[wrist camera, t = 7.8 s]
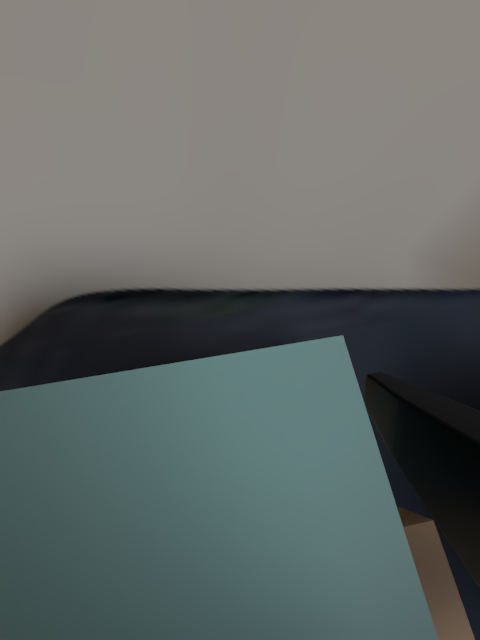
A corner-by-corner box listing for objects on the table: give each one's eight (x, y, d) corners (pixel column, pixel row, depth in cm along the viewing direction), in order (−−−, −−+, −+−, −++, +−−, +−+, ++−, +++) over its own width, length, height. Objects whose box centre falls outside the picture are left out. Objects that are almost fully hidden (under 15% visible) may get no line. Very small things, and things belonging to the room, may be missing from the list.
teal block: (296, 534, 11) (499, 833, 3) (169, 562, 11) (-70, 1014, 2) (270, 406, 13) (342, 335, 4) (159, 426, 12) (-2, 391, 4)
